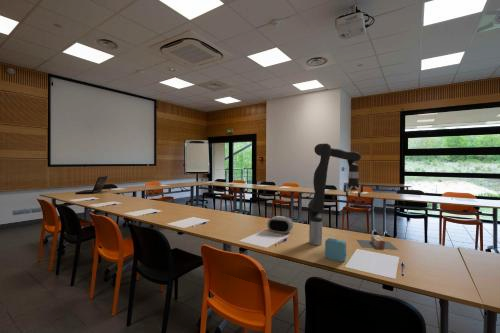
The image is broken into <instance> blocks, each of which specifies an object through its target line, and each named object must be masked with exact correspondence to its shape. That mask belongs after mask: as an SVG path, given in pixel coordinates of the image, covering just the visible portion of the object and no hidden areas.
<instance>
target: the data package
mask: <svg viewBox="0 0 500 333" xmlns="http://www.w3.org/2000/svg"><path fill="white" fill-rule="evenodd" d="M324 242H325V243H324V257H325V258H326V259H329V260H332V261H336V262H340V263H343V262H345V260H346V258H347V242H346V241H345V240H343V239H342V240H341V239H337V238H331V237H329V238H327V239H325V241H324Z"/></svg>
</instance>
